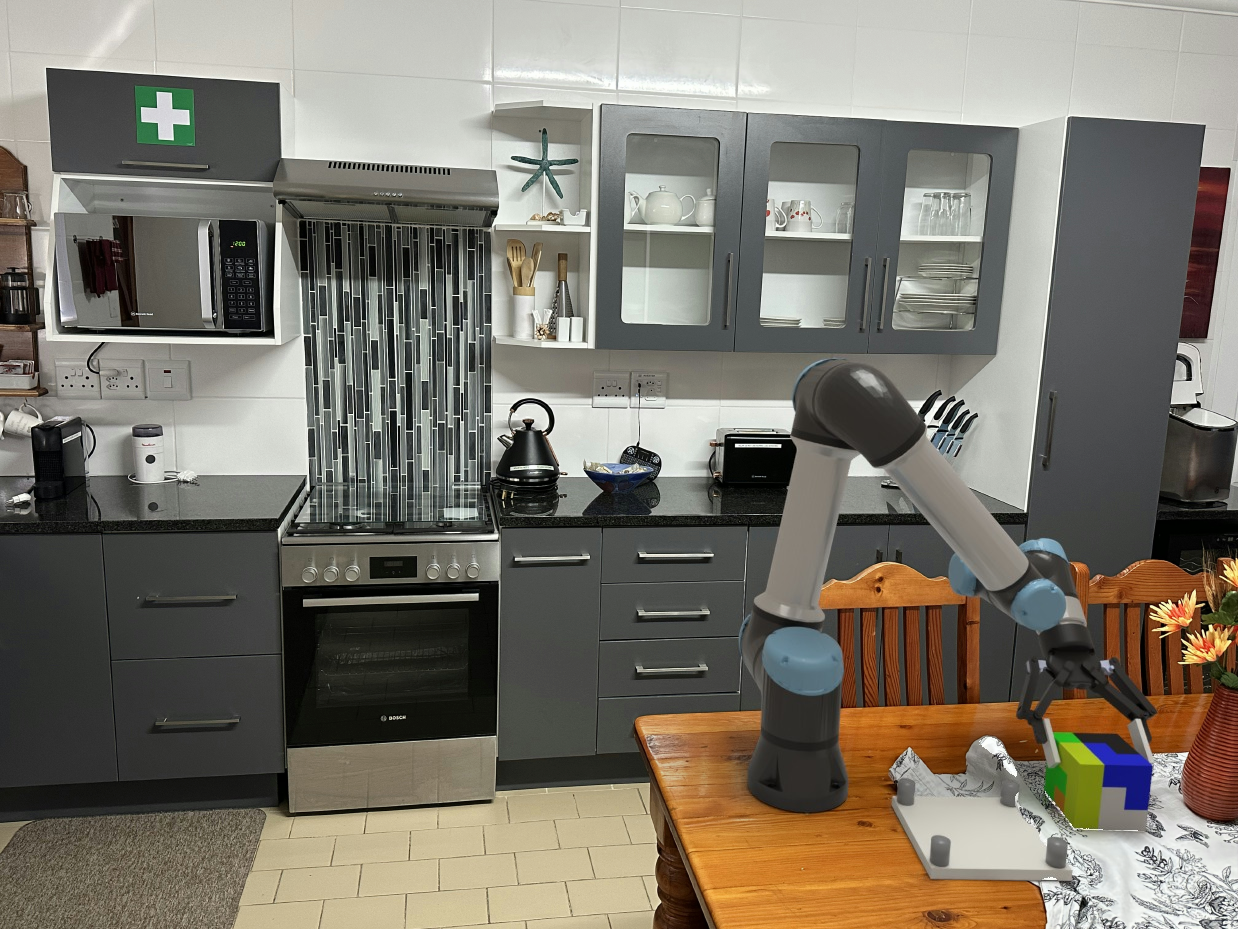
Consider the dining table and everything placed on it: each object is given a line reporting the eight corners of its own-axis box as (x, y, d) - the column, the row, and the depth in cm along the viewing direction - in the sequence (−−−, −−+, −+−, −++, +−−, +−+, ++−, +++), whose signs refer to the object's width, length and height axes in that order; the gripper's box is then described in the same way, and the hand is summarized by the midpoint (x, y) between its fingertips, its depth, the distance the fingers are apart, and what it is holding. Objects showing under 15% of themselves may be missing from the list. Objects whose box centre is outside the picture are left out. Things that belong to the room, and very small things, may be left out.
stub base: (930, 879, 121) (933, 846, 120) (891, 805, 139) (893, 777, 138) (1071, 881, 121) (1074, 848, 120) (1014, 807, 139) (1016, 778, 138)
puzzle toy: (1145, 832, 133) (1153, 765, 131) (1073, 830, 133) (1080, 764, 131) (1110, 795, 143) (1117, 733, 141) (1043, 794, 143) (1049, 732, 141)
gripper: (1130, 641, 153) (1174, 773, 141) (976, 641, 153) (1006, 773, 141) (1151, 621, 147) (1199, 757, 135) (991, 620, 147) (1024, 757, 134)
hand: (1101, 765), depth 138 cm, fingers open, 13 cm apart
